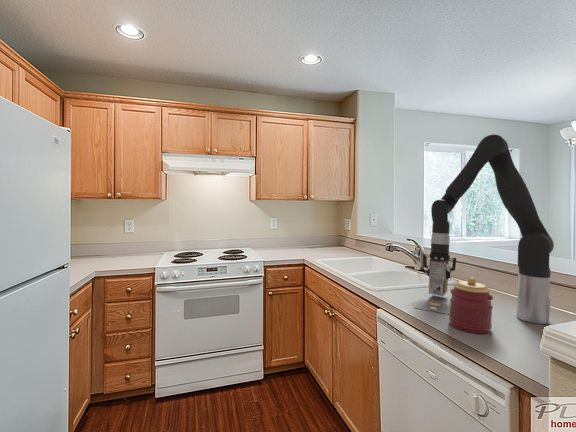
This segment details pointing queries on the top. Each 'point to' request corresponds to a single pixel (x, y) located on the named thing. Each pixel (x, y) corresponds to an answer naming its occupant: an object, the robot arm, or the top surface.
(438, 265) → the coffee box
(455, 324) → the canister
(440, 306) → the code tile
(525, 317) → the robot arm
